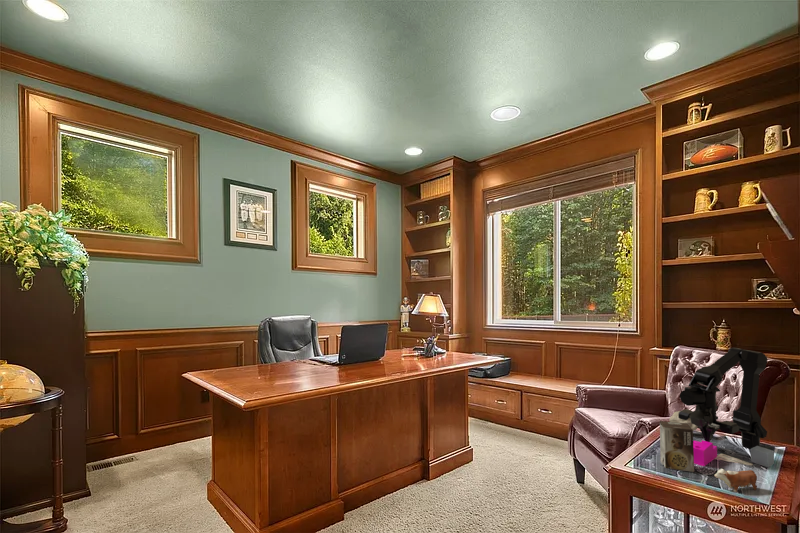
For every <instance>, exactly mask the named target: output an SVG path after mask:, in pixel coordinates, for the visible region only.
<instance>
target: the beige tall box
mask: <svg viewBox="0 0 800 533" xmlns="http://www.w3.org/2000/svg"><path fill="white" fill-rule="evenodd" d="M659 438H660V439H659V444H660V445H659V449H660V451H659V452H660V463H661V465H662V466H663V465H664V466H663V467H664V468H665V469H669V468H670V469H669V470H671V469H672V470H677V471H685V472H692V473H693V472H695V464H694V450H693V441H694V431H693V429H692V428H691V427H690V426H689V425H688V424H687V423H678V422H670V421H666V420H665V421H664V420H659Z"/></svg>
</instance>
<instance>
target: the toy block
mask: <svg viewBox="0 0 800 533" xmlns="http://www.w3.org/2000/svg"><path fill="white" fill-rule="evenodd" d="M713 443H714V442H712V441H710V442H707V441H705V440H704V439H701V441H699V440H694V439H693V450H694V465H698V466H702V467H706V466H707V465H709V463H711V462H712V461H714V460H716V459H715V458H716V457H717V455H718V446H717V445H714V444H713Z"/></svg>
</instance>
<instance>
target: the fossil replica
mask: <svg viewBox="0 0 800 533" xmlns="http://www.w3.org/2000/svg"><path fill="white" fill-rule="evenodd" d="M686 409H687V408H686ZM683 410H684V409H683ZM683 410H679V411H678V410H677V411H675V412H673V413H672V415H671V416H670V417H669V420H668V421H669V422H678V423H687V424H688V425H689V426H690V427H691V428H692V429H693V432H694V431H696V430H698V427H697V426H696V425H694V424H692V423H691V420H690V418H689V419H687V420H683V419H680V418H678V413H679V412H680V411H683ZM687 410H689V409H687Z"/></svg>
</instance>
